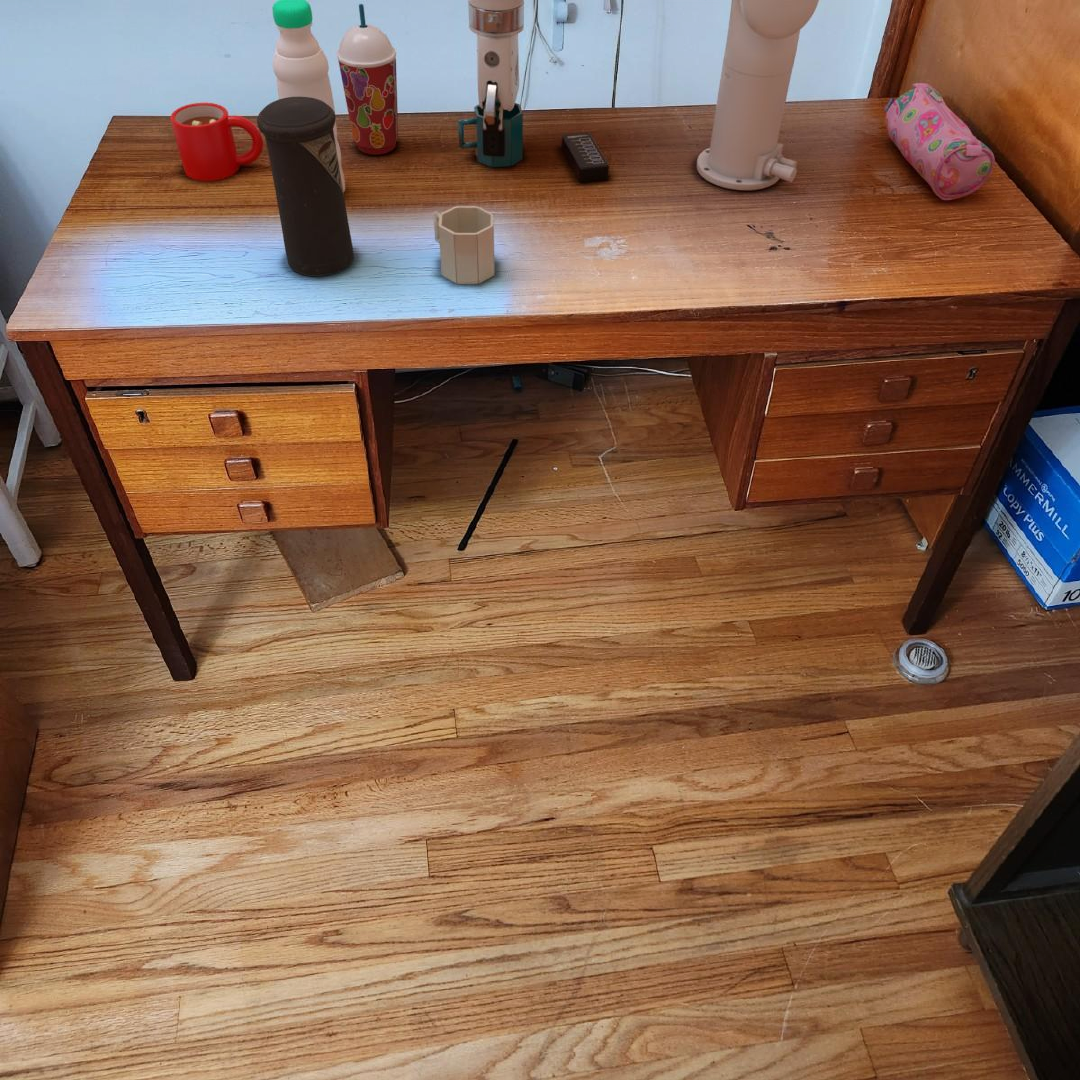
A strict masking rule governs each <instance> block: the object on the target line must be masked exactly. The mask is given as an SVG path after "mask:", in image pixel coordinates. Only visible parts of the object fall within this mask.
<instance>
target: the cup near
mask: <svg viewBox="0 0 1080 1080" xmlns="http://www.w3.org/2000/svg"><path fill="white" fill-rule="evenodd" d="M494 215H495V214H494V213H492V212H490V211H488V210H486V209H485V208H483V207H480V206H478V205H455V206H453V207H451V208H448V209H447V210H445V211H443V212H440V211H439V210H435V211H433V215H432V216H433V229H434V241H435V242H436V243H438V244H439V255H440V271H441V272H440V273H441V276H442V277H443V278H445V279H447V280H449V281H451V282H452V283H454V284H457V285H478V284H481V283H483V282H485V281H487V280H489V279H490V278H492V277H494V276H495V271H496V270H495V263H496V262H495V218H494V217H495V216H494Z"/></svg>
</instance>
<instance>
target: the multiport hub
mask: <svg viewBox="0 0 1080 1080" xmlns="http://www.w3.org/2000/svg"><path fill="white" fill-rule="evenodd" d="M561 152H562V154H563V156H564V158H565V160H566V161H567V164H568V166H570V169H571V170H572V172H573V174H574V176H575V178H576V180H577V181H578V183H579V184H589V183H597V182H598V183H599V182H606V181H609V172H610V171H609V170H610V169H609V168H610V164H609V162H608V161H607V159H606V157H605V156H604V154H603V153H602V151H601V149H600V147H599V146H598V144H597V142H596V141H595V139H594V137H593V136H592V134H591V132H589V131H586V132H585V131H583V132H574V133H563V134H562V135H561Z"/></svg>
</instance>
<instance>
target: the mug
mask: <svg viewBox="0 0 1080 1080" xmlns="http://www.w3.org/2000/svg"><path fill="white" fill-rule="evenodd" d="M170 122H171V126H172V130H173V134H174V137H175V140H176V145H177V148H178V149H177V150H178V151H179V156H180V160H181V163H182V167H183V171H184V174H185V175H186V176H187V177H189V178H190V179H192V180H194V181H195V180H196V181H201V182H213V181H214V182H215V181H220V180H223V179H226V178H229V177H231V176H233V175H235V174H236V173H237V172H238V170H239V169H240V166H246V165H250V164H252V163H254V162H255V161H256V160H258V158H259V157H260V156H261V154H262V152H263V149H264V139H263V137H262V134H261V131H260V130H259V128H258V126H257V125H256V124H255V123H253V122H252V121H250V120H249V119H248V118H246V117H244V116H240V115H229V112H228V110H227V108H226V107H225V106H222V105H221V104H219V103H214V102H194V103H190V104H185V105H182V106H180V107H178V108H177V109H175V110H173V112H172V113H171V115H170ZM232 127H235V128H240V129H243V130H245V131H246V132H247V133H248V134H249V136H250V137H251V141H252V145H251V148H250V150H249V151H248V152H246V153H243V154H238V151H237V148H236V142H235V139H234V133H233V129H232Z"/></svg>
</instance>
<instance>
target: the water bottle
mask: <svg viewBox="0 0 1080 1080" xmlns="http://www.w3.org/2000/svg"><path fill="white" fill-rule="evenodd" d="M312 11H313V10H312V7H311V5H310V3H309V2H308V1H307V0H277V1H275V2H274V3H273V5H272V17H273V21H274V24H275V27H276V29H278V30H279V31H278V32H279V37H278V39H277V41H276V46H275V47H276V48H275V51H274V54H273V57H272V69H273V73H274V75H275V78H276V87H277V95H278V100H279V99H283V98H288V97H310V98H315V99H318V100H321V101H323V102H325V103H326V104H327V105H329V106H330V107H331V108H332V109H333V110H334V113H335V114H336V109H335V103H334V97H333V91H332V90H333V89H332V85H331V80H330V76H329V69H330V66H329V61H328V58H327V56H326V54H325V52H324V50H323V49H322V47H321V46H320V44H319V42H318V40H317V38H316V37H315V36H314V35H313V33H312V30H311V28H312V26H313V12H312ZM337 127H338V125H337V120H336V121H335V124H334V127H333V131H334V138H335V144H336V151H337V157H338V163H339V169H340V175H341V181H342V187H343V193H345V191H346V181H345V175H344V170H343V167H342V166H343V165H342V152H341V147H340V144H339V140H338V128H337Z"/></svg>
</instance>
